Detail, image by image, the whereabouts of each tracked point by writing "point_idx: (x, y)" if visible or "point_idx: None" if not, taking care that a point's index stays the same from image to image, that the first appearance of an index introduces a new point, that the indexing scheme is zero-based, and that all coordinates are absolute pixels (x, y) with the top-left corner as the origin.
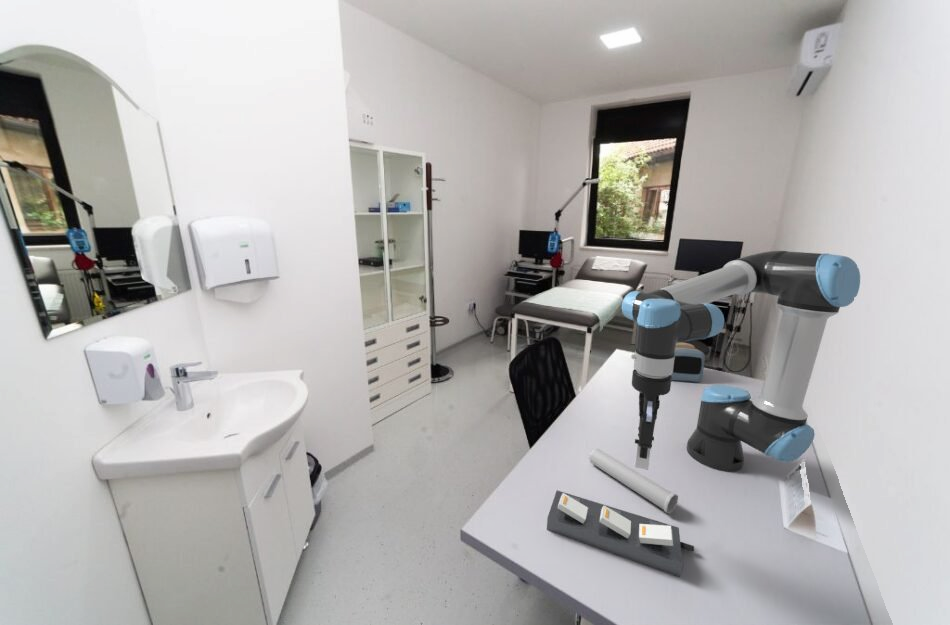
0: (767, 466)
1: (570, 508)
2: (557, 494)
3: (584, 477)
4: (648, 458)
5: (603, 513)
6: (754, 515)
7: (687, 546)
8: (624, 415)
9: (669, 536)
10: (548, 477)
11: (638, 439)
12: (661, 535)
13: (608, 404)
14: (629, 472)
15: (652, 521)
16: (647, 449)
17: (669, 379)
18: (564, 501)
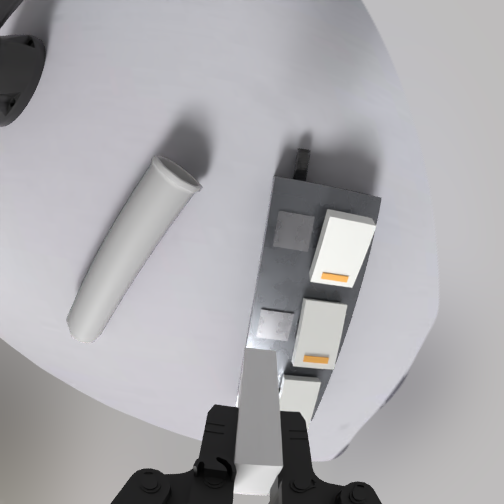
0: (38, 9)
1: (308, 411)
2: None
3: (144, 346)
4: (278, 397)
5: (319, 366)
6: (152, 16)
7: (306, 163)
8: None
9: (364, 228)
10: (176, 402)
11: (236, 492)
12: (357, 244)
13: None
14: (116, 275)
15: (274, 239)
16: (311, 463)
17: None
18: None
